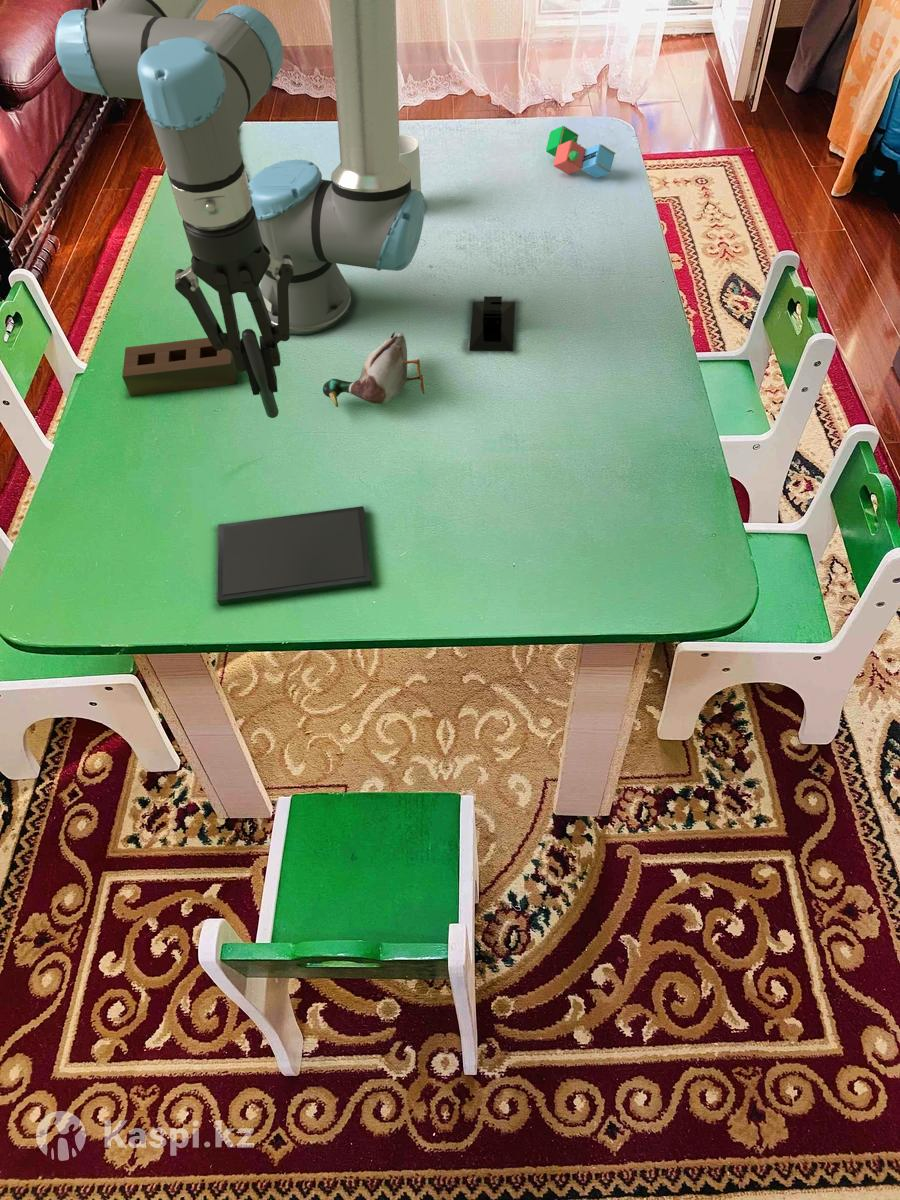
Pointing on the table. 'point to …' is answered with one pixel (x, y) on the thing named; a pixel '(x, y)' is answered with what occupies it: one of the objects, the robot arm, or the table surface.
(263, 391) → the stylus
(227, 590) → the tablet
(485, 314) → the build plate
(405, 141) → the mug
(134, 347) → the pen stand
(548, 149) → the building blocks
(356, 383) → the decorative duck model
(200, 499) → the table surface
